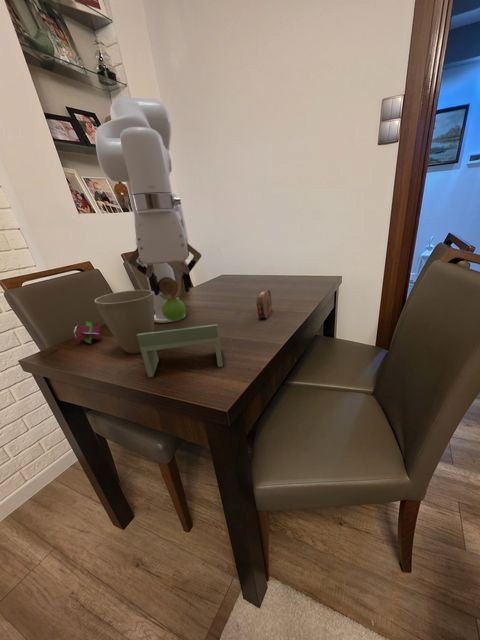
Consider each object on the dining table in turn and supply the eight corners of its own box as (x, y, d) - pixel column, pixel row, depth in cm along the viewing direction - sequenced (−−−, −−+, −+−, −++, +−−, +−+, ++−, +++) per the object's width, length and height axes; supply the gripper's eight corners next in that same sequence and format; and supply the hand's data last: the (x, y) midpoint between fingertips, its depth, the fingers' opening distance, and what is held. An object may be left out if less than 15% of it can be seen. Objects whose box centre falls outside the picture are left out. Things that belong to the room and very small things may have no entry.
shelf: (154, 360, 76) (144, 322, 71) (220, 351, 78) (215, 314, 73) (148, 377, 68) (136, 335, 63) (222, 366, 70) (217, 325, 65)
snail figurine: (188, 323, 65) (178, 270, 60) (161, 325, 65) (148, 272, 60) (194, 315, 70) (184, 266, 65) (168, 317, 70) (157, 268, 65)
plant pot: (160, 355, 78) (146, 299, 71) (104, 362, 76) (85, 306, 70) (167, 335, 92) (157, 287, 85) (120, 341, 90) (105, 292, 83)
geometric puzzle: (100, 328, 96) (79, 314, 90) (110, 331, 92) (89, 317, 86) (87, 345, 94) (65, 333, 88) (97, 349, 90) (74, 336, 84)
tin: (265, 321, 98) (263, 297, 95) (256, 321, 99) (254, 298, 95) (272, 308, 111) (271, 287, 108) (264, 308, 112) (263, 287, 108)
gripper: (198, 203, 62) (210, 285, 69) (115, 208, 59) (137, 292, 67) (197, 201, 55) (210, 292, 63) (104, 207, 52) (129, 300, 60)
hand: (172, 291), depth 65 cm, fingers closed on snail figurine, 6 cm apart
